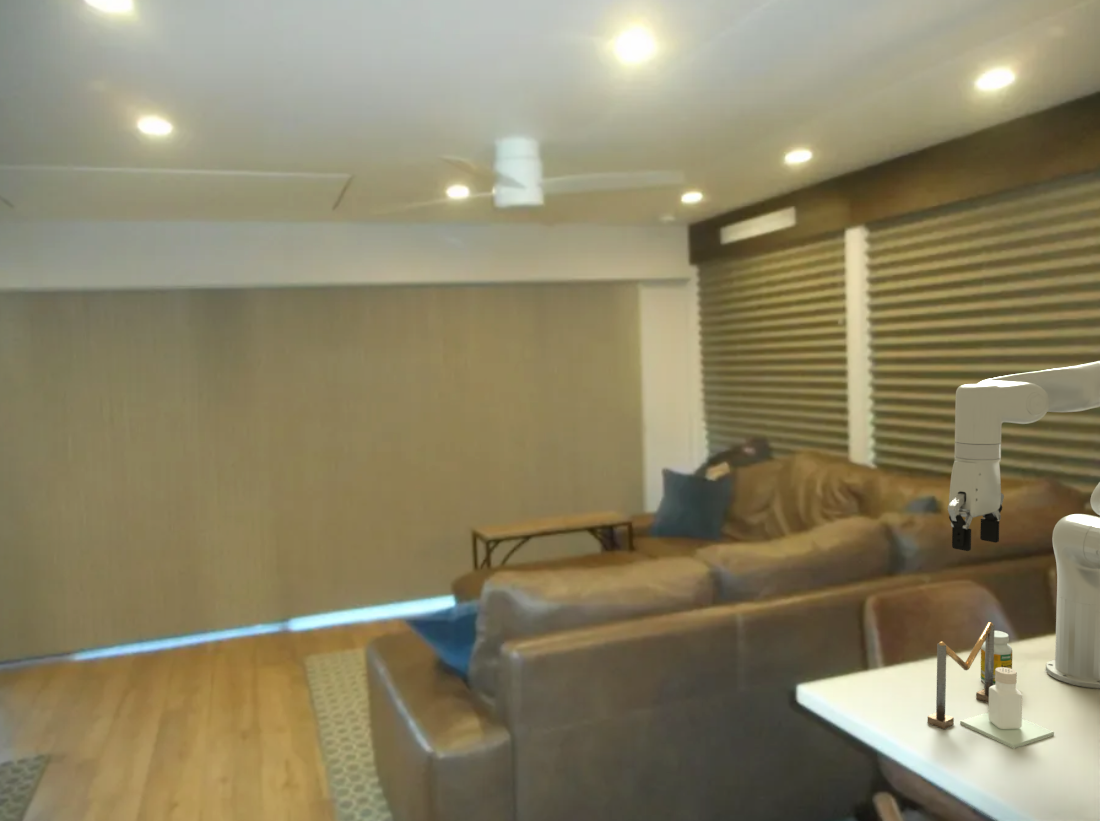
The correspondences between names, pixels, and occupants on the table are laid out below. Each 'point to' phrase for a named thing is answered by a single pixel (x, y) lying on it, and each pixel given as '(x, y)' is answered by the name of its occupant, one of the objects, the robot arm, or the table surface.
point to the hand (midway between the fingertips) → (975, 545)
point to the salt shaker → (1005, 700)
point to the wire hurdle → (988, 637)
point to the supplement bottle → (998, 654)
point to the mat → (1008, 731)
